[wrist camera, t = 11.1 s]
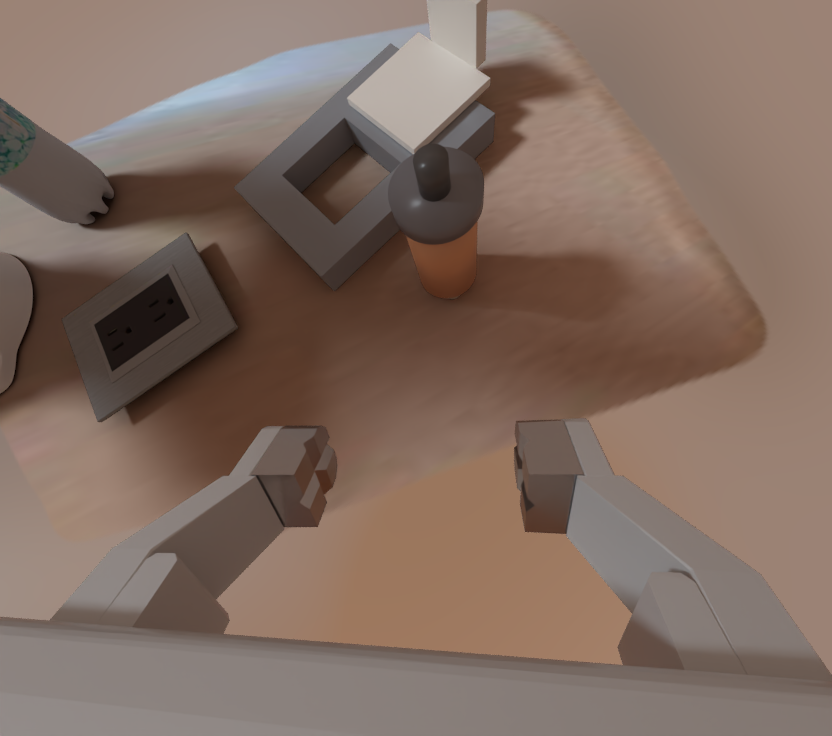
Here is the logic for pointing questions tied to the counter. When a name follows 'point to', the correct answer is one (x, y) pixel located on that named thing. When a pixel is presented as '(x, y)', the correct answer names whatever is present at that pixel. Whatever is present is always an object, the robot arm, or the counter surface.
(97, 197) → the bottle
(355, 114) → the socket block
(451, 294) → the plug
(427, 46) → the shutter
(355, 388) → the counter surface
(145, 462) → the counter surface
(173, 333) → the electrical outlet
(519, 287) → the counter surface
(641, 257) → the counter surface
